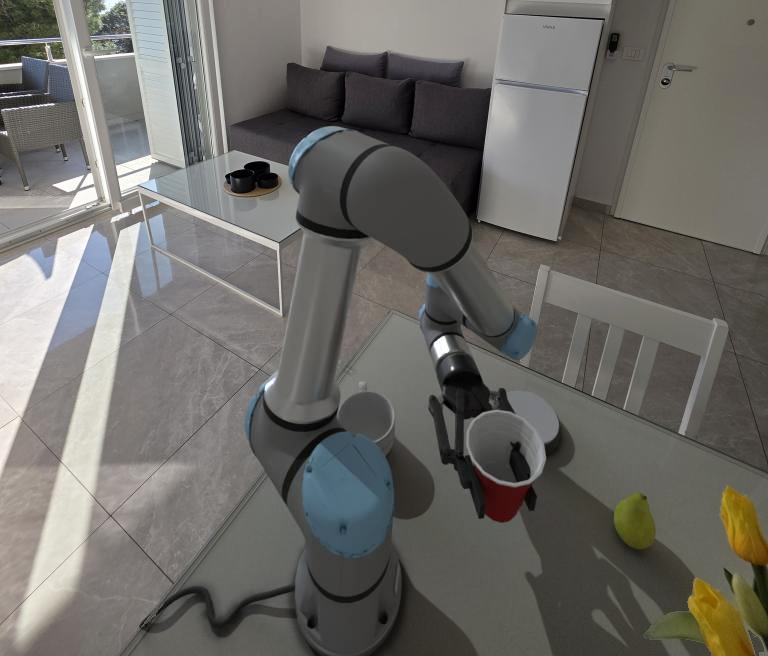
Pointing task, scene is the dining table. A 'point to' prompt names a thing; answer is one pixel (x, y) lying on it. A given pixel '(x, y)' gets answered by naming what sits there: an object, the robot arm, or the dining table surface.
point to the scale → (537, 416)
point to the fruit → (635, 521)
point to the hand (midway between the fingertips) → (507, 507)
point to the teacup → (369, 417)
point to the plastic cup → (503, 460)
